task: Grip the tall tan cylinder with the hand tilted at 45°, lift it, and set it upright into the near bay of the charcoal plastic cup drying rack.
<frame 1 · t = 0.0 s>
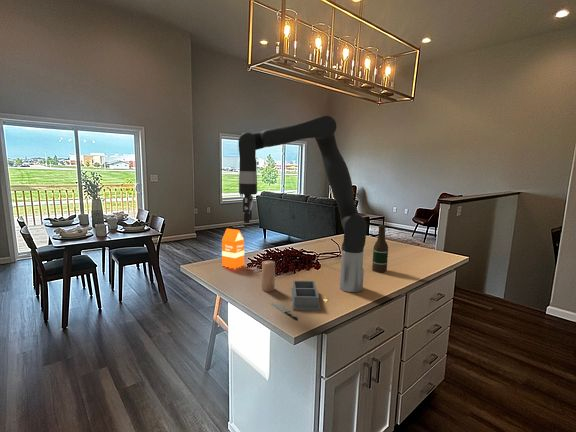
hand: (247, 221, 130), 29 cm above the countertop, tool pointing down, fingers open, 8 cm apart
orange juice: (233, 266, 164), on the countertop
beer bottle: (379, 271, 162), on the countertop
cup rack: (304, 299, 123), on the countertop
chef's knife: (283, 310, 114), on the countertop
tan cylinder: (268, 289, 133), on the countertop
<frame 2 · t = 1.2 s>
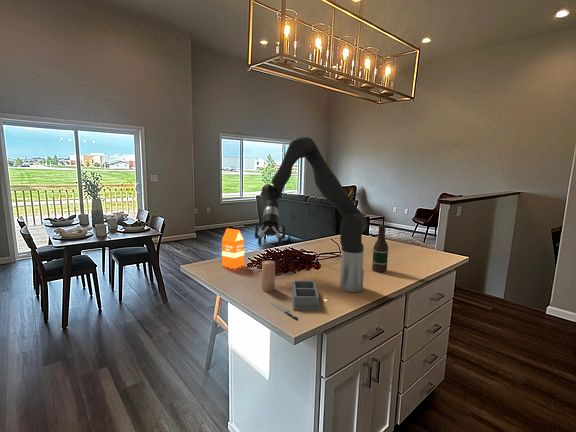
hand: (269, 245, 142), 16 cm above the countertop, tool tilted 45°, fingers open, 8 cm apart
nothing on the countertop moved.
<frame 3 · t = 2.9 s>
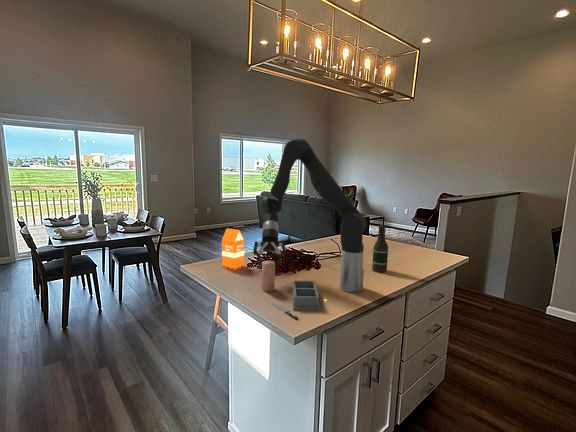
hand: (268, 263, 135), 11 cm above the countertop, tool tilted 45°, fingers open, 8 cm apart
nothing on the countertop moved.
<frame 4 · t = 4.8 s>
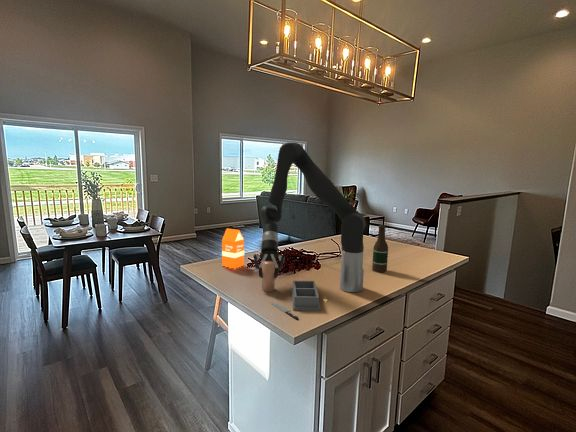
hand: (268, 277, 130), 6 cm above the countertop, tool tilted 45°, fingers closed on tan cylinder, 5 cm apart
tan cylinder: (268, 289, 133), on the countertop, touching gripper
everything else where it was.
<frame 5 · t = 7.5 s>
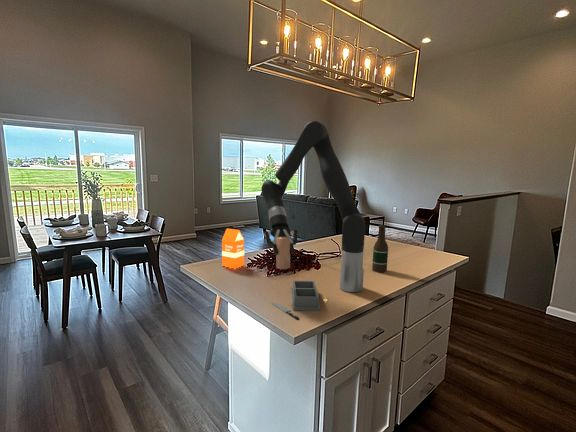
hand: (284, 253, 121), 18 cm above the countertop, tool tilted 45°, fingers closed on tan cylinder, 5 cm apart
tan cylinder: (283, 267, 123), point 12 cm above the countertop, touching gripper
everything else where it was.
when the fingers open (8 cm above the countertop, at t = 10.7 s): tan cylinder drops 1 cm, resting on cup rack.
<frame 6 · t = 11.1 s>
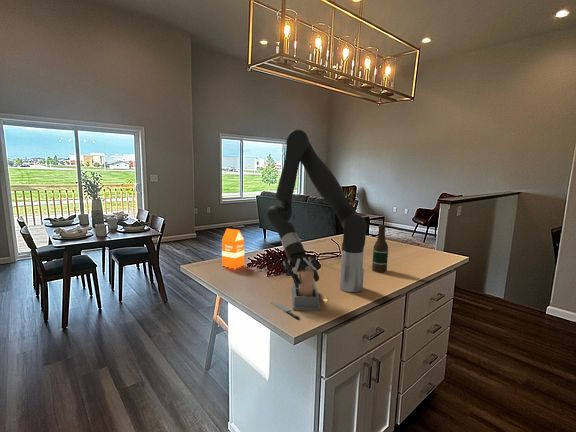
hand: (308, 282, 116), 9 cm above the countertop, tool tilted 45°, fingers open, 8 cm apart
tan cylinder: (305, 301, 119), point 1 cm above the countertop, touching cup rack
everything else where it was.
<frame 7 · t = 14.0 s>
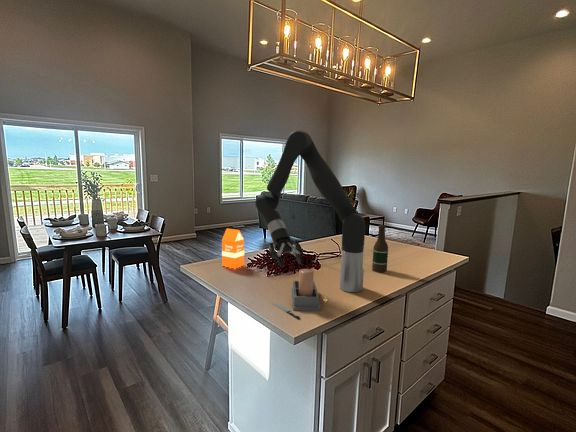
hand: (291, 264, 126), 13 cm above the countertop, tool tilted 45°, fingers open, 8 cm apart
nothing on the countertop moved.
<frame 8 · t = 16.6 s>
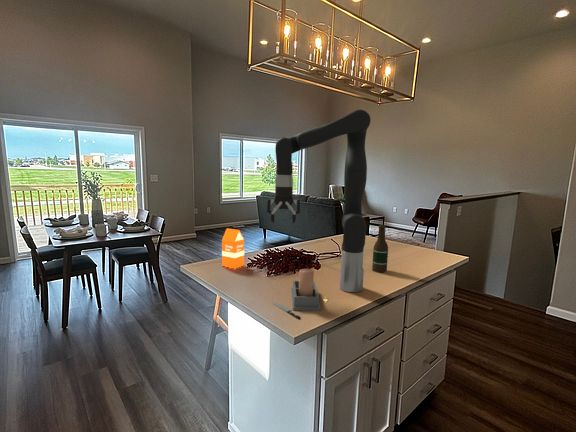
hand: (283, 222, 135), 28 cm above the countertop, tool pointing down, fingers open, 8 cm apart
nothing on the countertop moved.
at the end: tan cylinder 0.1 cm from the target spot on the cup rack, point 1.0 cm above the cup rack's base; tan cylinder tilted 1°; the gripper is holding nothing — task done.
